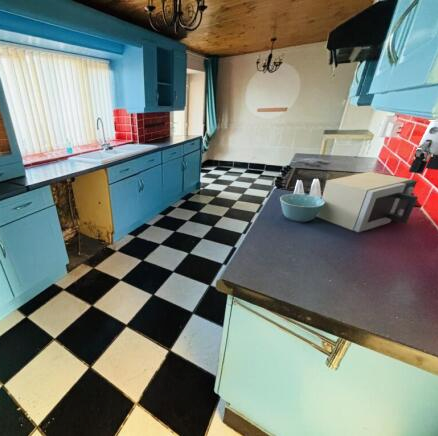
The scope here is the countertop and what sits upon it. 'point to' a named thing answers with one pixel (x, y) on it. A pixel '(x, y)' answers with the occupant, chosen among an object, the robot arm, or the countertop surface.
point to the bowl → (301, 206)
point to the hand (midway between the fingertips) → (423, 170)
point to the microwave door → (384, 207)
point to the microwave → (357, 196)
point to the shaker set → (314, 190)
